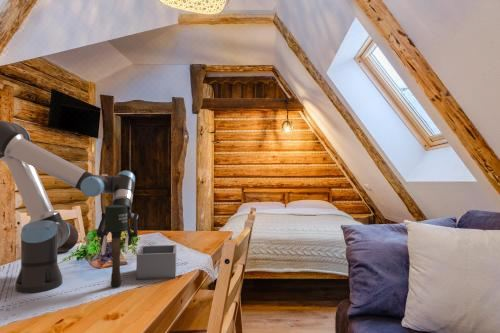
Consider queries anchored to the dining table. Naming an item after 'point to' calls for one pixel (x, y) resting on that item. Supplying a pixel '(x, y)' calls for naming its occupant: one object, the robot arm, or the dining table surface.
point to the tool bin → (156, 262)
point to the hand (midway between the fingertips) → (114, 252)
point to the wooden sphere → (69, 240)
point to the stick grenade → (116, 237)
